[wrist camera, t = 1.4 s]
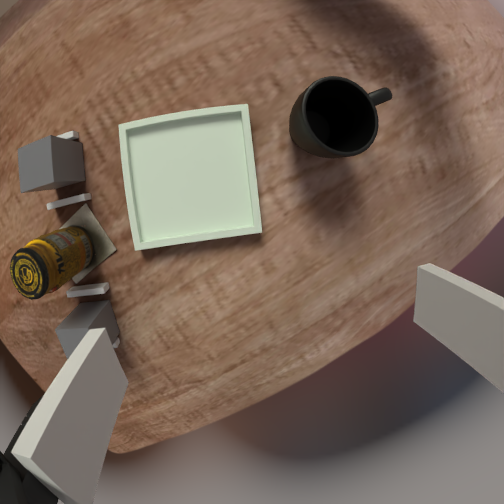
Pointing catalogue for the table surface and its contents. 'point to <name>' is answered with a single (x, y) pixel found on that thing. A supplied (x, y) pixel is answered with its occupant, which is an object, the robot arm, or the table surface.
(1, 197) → the table surface
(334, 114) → the mug
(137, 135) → the tray
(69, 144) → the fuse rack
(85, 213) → the condiment
